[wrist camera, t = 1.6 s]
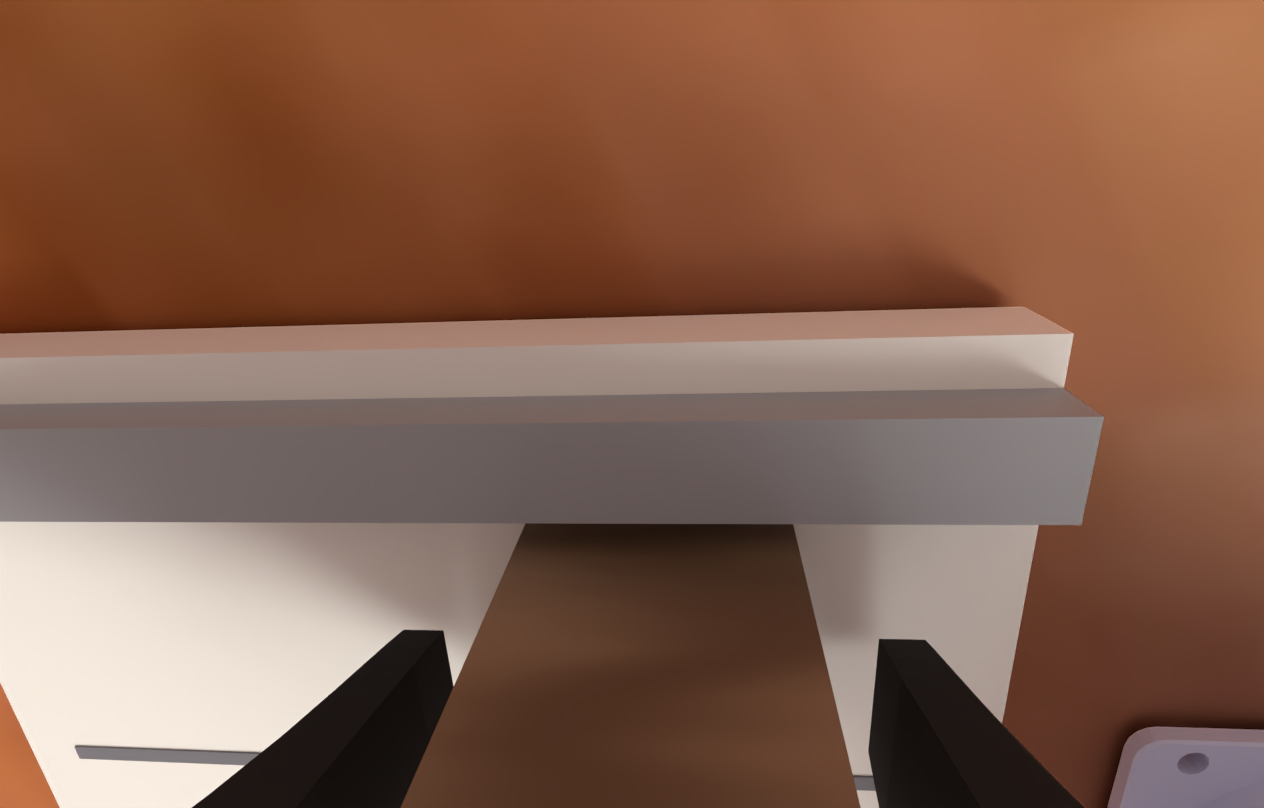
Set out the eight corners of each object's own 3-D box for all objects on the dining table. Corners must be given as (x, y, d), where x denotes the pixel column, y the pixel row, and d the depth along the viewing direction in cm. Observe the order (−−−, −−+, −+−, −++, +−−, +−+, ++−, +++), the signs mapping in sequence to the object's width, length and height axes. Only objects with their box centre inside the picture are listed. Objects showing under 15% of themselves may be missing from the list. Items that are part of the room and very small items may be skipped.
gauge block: (791, 518, 10) (897, 964, 5) (783, 724, 12) (859, 1252, 6) (527, 517, 11) (346, 929, 5) (551, 717, 12) (429, 1205, 7)
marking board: (1024, 306, 10) (1116, 356, 8) (927, 927, 16) (968, 1067, 13) (-57, 334, 12) (-233, 382, 10) (172, 882, 17) (91, 998, 15)
